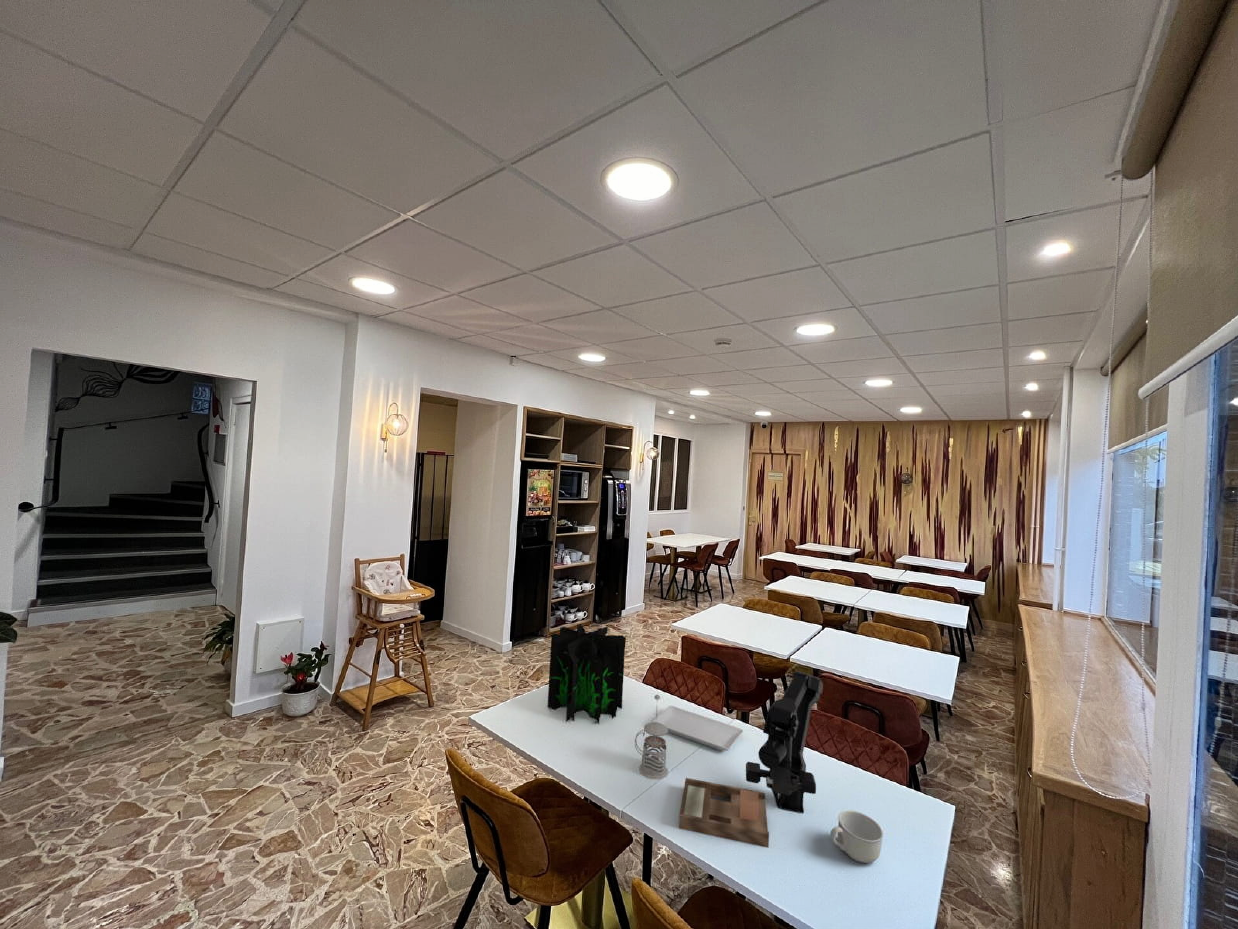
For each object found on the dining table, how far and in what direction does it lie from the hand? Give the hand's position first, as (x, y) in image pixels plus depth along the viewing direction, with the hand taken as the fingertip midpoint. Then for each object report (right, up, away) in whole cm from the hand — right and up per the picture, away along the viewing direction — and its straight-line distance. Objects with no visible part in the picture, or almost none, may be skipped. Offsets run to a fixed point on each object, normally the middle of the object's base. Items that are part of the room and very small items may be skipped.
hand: (778, 807), depth 141 cm
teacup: (+17, -7, -9) cm, 20 cm away
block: (-8, -3, +2) cm, 9 cm away
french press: (-35, -4, +24) cm, 42 cm away
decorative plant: (-60, -4, +66) cm, 89 cm away
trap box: (-15, -5, +3) cm, 16 cm away
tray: (-16, -6, +49) cm, 52 cm away
